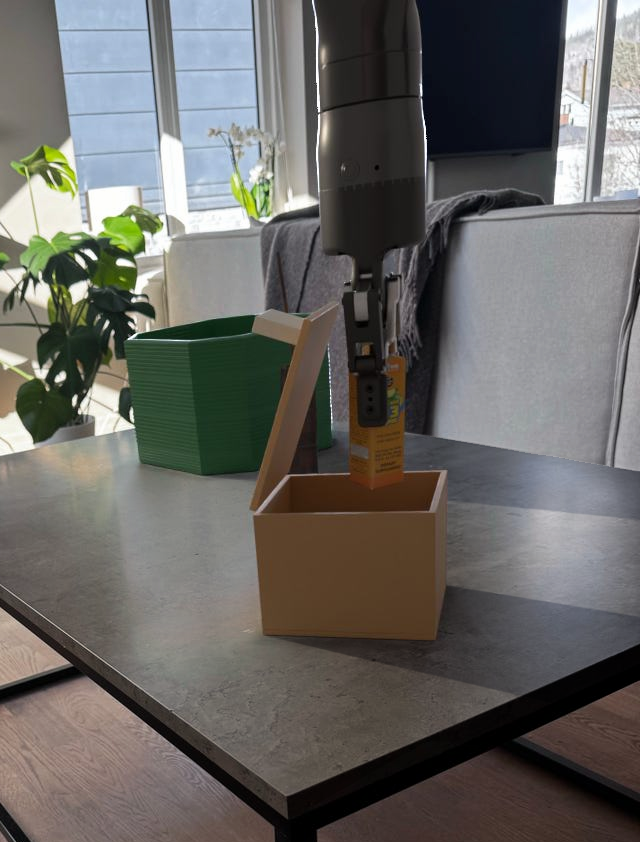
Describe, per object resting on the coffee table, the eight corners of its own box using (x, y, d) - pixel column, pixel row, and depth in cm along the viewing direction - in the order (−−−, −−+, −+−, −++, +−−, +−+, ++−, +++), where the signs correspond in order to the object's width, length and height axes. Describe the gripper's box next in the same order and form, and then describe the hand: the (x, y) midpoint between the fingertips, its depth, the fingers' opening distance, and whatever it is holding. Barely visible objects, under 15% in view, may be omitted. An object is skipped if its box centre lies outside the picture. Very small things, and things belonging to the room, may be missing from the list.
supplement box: (372, 491, 72) (368, 361, 68) (348, 483, 75) (344, 358, 71) (408, 483, 73) (406, 354, 69) (383, 475, 76) (380, 351, 72)
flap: (340, 302, 75) (285, 286, 76) (311, 320, 65) (248, 302, 66) (289, 471, 83) (239, 455, 84) (255, 512, 73) (199, 493, 74)
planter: (224, 480, 124) (211, 342, 117) (120, 458, 144) (103, 339, 137) (358, 439, 137) (353, 311, 130) (245, 424, 157) (236, 313, 150)
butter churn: (359, 476, 118) (351, 242, 107) (305, 494, 114) (291, 252, 102) (309, 467, 125) (297, 247, 114) (256, 484, 121) (239, 256, 109)
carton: (446, 584, 82) (447, 469, 78) (435, 640, 72) (435, 512, 68) (293, 582, 87) (286, 474, 83) (262, 634, 77) (252, 515, 73)
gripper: (415, 169, 58) (417, 438, 65) (434, 172, 70) (434, 398, 77) (298, 186, 61) (312, 443, 68) (336, 186, 73) (345, 403, 80)
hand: (377, 418), depth 72 cm, fingers closed on supplement box, 4 cm apart
